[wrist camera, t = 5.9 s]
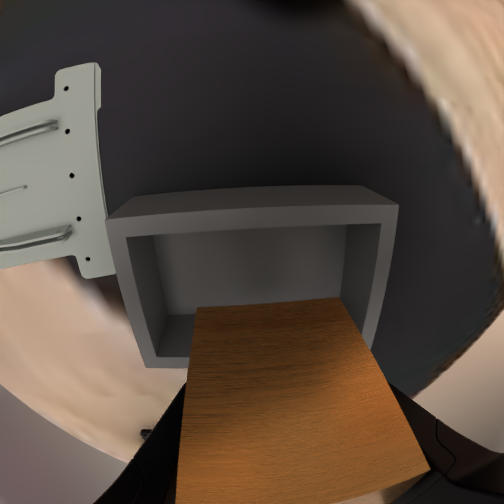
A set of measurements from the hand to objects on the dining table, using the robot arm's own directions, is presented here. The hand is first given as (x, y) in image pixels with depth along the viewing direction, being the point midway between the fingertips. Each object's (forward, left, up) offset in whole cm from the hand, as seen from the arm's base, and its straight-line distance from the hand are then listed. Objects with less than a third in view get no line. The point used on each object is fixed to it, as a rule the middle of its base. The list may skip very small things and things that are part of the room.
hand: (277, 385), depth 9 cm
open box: (-1, 0, -12) cm, 12 cm away
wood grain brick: (-1, 0, -2) cm, 3 cm away
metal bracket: (+6, +16, -13) cm, 21 cm away
